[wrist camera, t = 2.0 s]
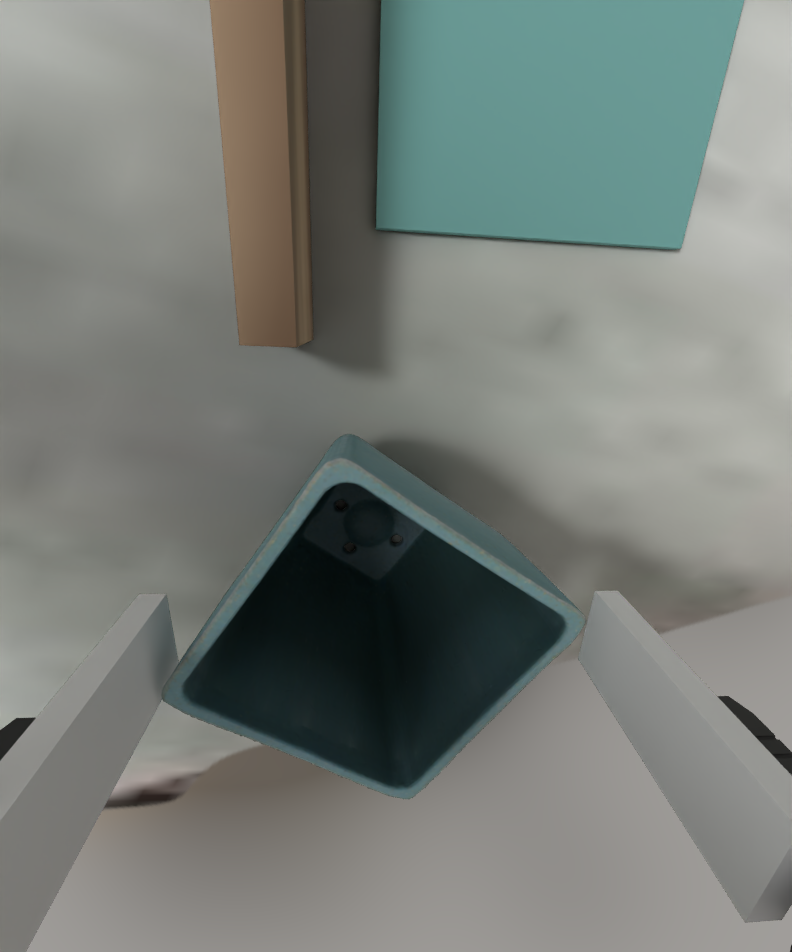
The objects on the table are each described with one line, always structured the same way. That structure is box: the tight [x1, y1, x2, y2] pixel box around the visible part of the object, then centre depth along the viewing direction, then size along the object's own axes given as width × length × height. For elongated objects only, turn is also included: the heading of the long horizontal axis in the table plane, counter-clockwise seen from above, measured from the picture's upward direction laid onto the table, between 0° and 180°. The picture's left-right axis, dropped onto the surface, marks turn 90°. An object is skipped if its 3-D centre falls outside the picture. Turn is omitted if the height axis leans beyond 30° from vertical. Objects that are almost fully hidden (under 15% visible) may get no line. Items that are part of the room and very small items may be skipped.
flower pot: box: [161, 434, 586, 799], centre depth 16 cm, size 9×9×9 cm
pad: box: [376, 0, 744, 250], centre depth 14 cm, size 12×12×1 cm
